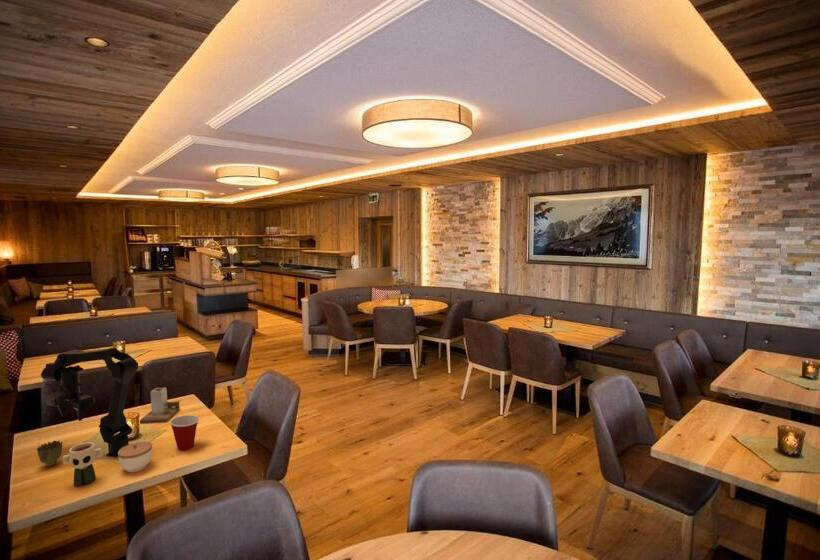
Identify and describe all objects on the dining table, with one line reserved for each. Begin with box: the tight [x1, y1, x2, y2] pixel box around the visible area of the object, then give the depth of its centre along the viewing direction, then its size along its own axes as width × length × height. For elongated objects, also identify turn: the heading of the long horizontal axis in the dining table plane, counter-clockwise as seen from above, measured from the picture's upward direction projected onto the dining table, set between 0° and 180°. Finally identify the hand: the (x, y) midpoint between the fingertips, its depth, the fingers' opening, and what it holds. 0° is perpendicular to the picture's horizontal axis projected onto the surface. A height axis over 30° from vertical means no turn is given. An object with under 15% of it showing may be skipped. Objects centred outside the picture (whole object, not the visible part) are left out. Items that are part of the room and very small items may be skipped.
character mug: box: [62, 441, 103, 486], centre depth 148 cm, size 11×7×13 cm, turn 119°
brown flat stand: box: [140, 401, 181, 425], centre depth 202 cm, size 14×12×5 cm
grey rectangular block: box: [150, 387, 168, 416], centre depth 202 cm, size 5×5×12 cm
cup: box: [36, 440, 63, 468], centre depth 160 cm, size 8×7×8 cm
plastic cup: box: [169, 414, 200, 451], centre depth 172 cm, size 11×11×12 cm
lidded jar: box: [117, 441, 153, 473], centre depth 157 cm, size 11×11×9 cm
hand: (72, 418), depth 171 cm, fingers open, 9 cm apart
